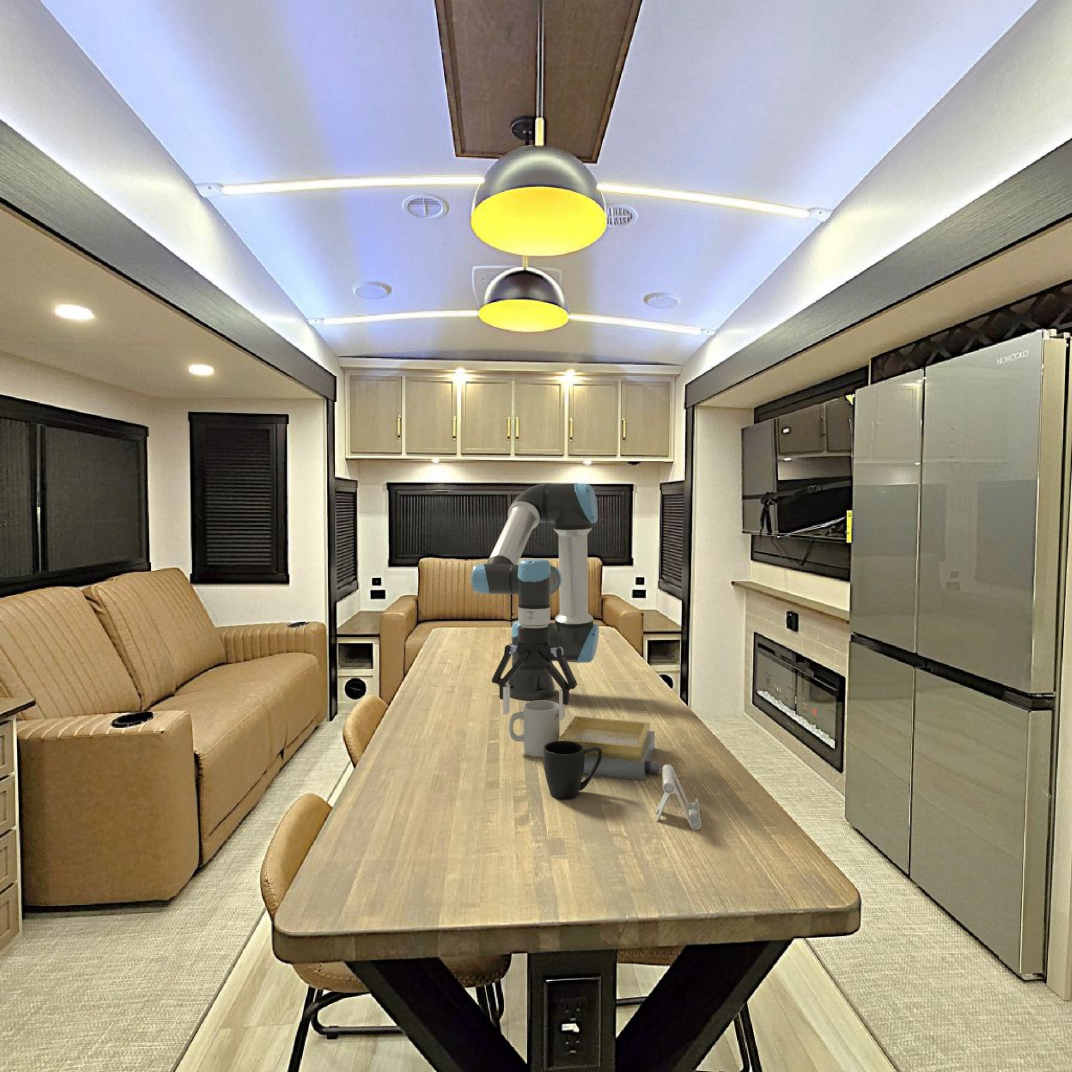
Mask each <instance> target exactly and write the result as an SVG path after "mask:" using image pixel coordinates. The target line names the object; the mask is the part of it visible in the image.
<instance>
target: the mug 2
mask: <svg viewBox="0 0 1072 1072" xmlns="http://www.w3.org/2000/svg"><path fill="white" fill-rule="evenodd" d="M590 751H598V756H597V760H596V762H595V764H594V766H593V768H592V770H591V772H590V773H589V775H586V777H585V778H584V780H583V776H584V774H583V771H584V761H585V753H588V752H590ZM542 758H543V770H544V774H545V780H546V782H547V783H546V784H547V787H548V790H549V793H550V796H551V797H552V798H554V799H556V800H561V801H562V800H563V801H569V800H572V799H575V798H577V797H578V795H579V792H580V791H583V790H584V789H585V788H586V787H587V786H588V785H589V783H590V782H591V780H592V778H593V776H595V775H594V773H595V771H596V769H597V768H598V766H599V764H600V762H601V759H602V750H601V748H599V747H590V748H586V749H585V748H584V746H583V745H582V744H580V743H577V742H573V741H554V742H550V743H547V744H546V745H545V746H544V748H543V757H542ZM582 780H583V781H582Z"/></svg>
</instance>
